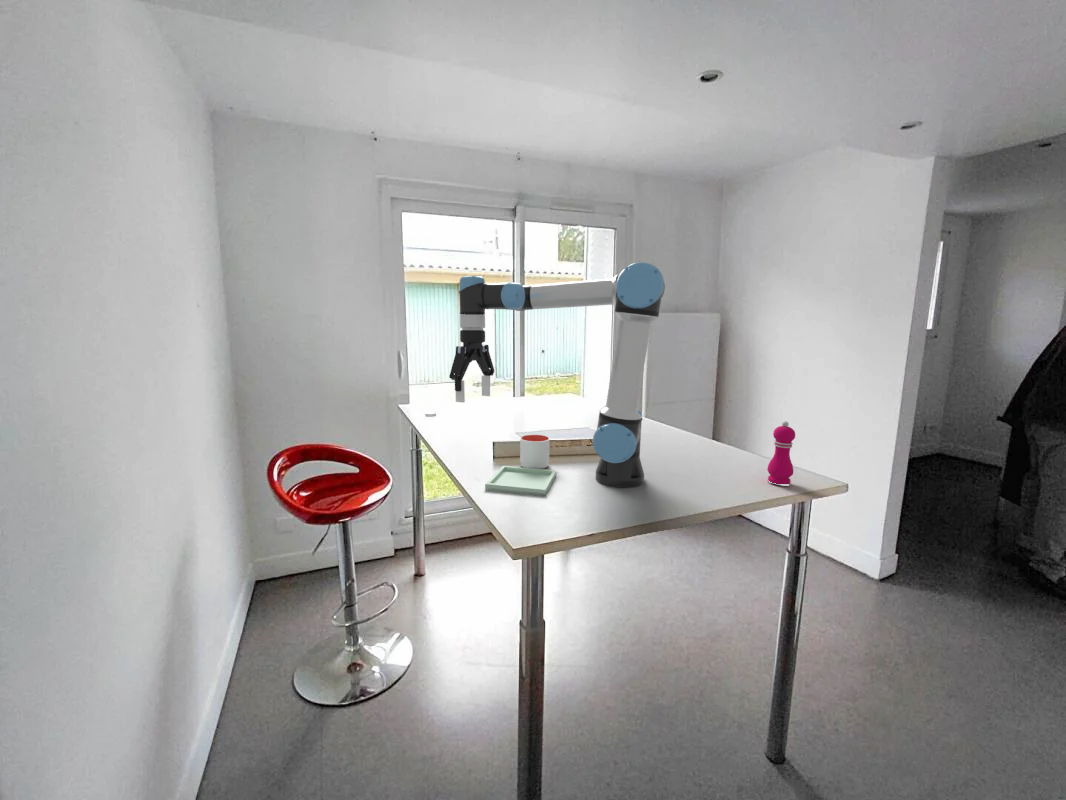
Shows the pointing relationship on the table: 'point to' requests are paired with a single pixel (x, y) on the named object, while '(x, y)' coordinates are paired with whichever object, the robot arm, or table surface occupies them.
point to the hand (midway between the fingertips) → (473, 398)
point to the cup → (534, 451)
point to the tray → (521, 480)
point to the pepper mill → (781, 455)
